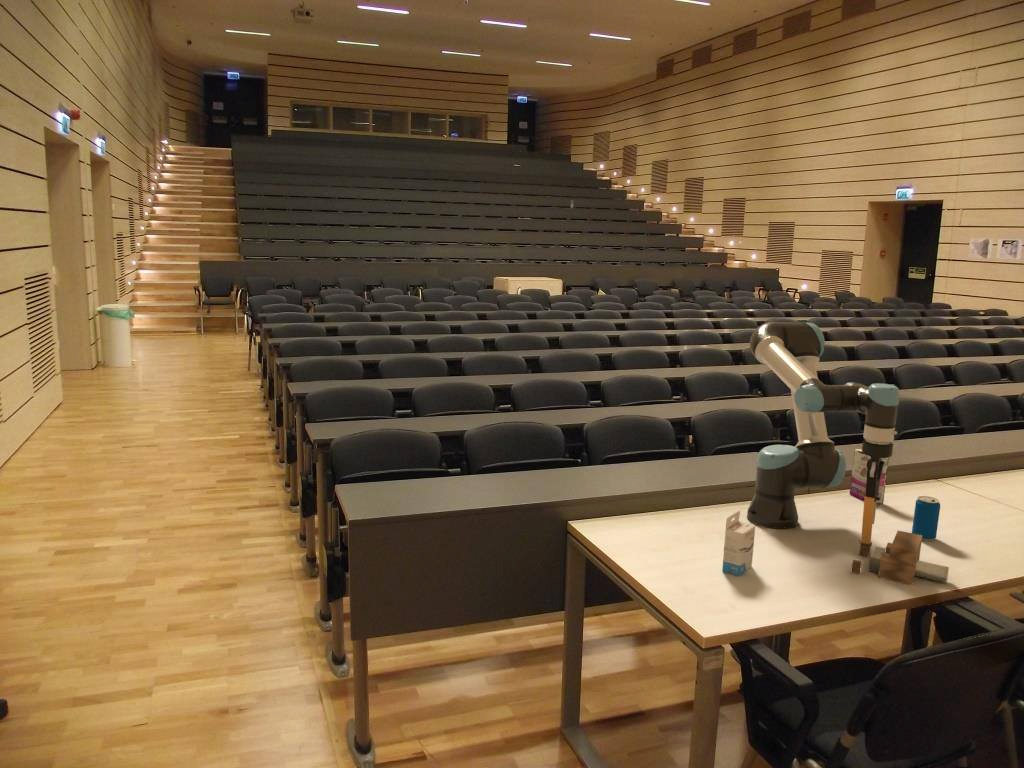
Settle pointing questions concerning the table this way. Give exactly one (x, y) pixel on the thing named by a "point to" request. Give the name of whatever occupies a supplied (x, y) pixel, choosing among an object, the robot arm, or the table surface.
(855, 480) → the candy bar box
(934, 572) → the pin
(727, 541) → the ink box
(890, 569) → the hitch block
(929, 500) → the beverage can
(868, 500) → the bar
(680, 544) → the table surface
